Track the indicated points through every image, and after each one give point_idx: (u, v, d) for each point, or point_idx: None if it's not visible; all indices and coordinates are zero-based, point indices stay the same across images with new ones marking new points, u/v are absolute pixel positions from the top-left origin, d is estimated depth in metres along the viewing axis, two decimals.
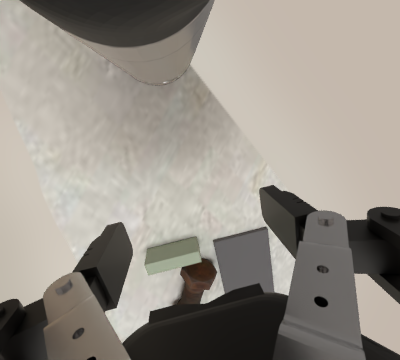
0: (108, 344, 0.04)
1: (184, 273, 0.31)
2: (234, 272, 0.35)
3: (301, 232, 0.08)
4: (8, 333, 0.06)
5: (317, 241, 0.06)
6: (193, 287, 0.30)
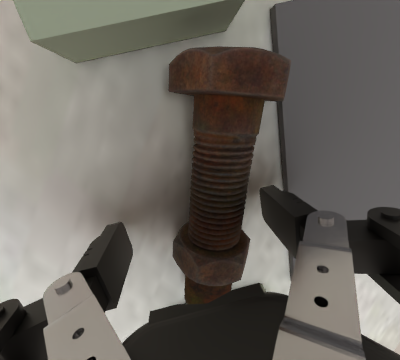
0: (108, 344, 0.04)
1: (181, 59, 0.08)
2: (322, 137, 0.13)
3: (301, 232, 0.08)
4: (8, 333, 0.06)
5: (317, 241, 0.06)
6: (222, 83, 0.07)
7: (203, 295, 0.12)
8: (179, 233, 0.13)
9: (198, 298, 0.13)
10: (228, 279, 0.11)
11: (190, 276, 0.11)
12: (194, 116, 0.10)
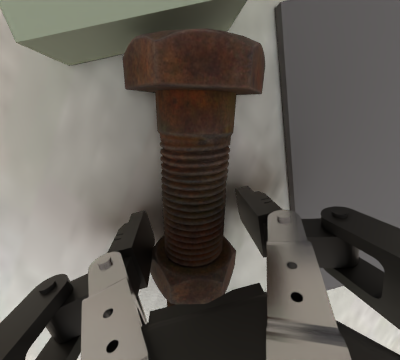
0: (130, 331, 0.04)
1: (130, 50, 0.07)
2: (330, 141, 0.12)
3: (264, 230, 0.09)
4: (62, 302, 0.07)
5: (270, 237, 0.07)
6: (170, 74, 0.06)
7: None
8: (156, 246, 0.12)
9: None
10: (208, 298, 0.10)
11: (165, 295, 0.10)
12: (157, 116, 0.09)
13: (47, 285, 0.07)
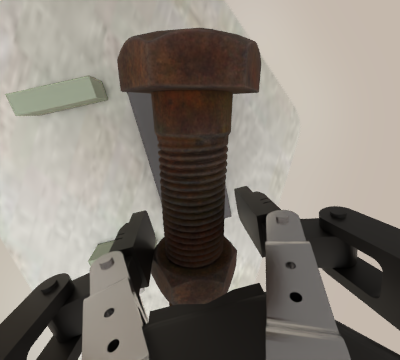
0: (131, 331, 0.04)
1: (125, 52, 0.07)
2: None
3: (263, 230, 0.09)
4: (64, 301, 0.07)
5: (268, 238, 0.07)
6: (164, 75, 0.06)
7: None
8: (156, 247, 0.12)
9: None
10: (209, 299, 0.10)
11: (167, 297, 0.10)
12: (153, 117, 0.09)
13: (49, 284, 0.07)
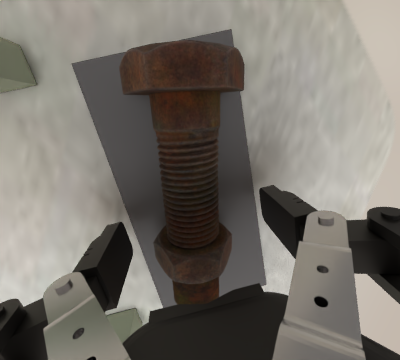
0: (108, 344, 0.04)
1: (125, 61, 0.08)
2: (153, 176, 0.14)
3: (301, 232, 0.08)
4: (8, 333, 0.06)
5: (317, 241, 0.06)
6: (159, 80, 0.07)
7: (188, 293, 0.12)
8: (159, 233, 0.13)
9: (184, 297, 0.13)
10: (207, 276, 0.11)
11: (169, 275, 0.11)
12: (152, 116, 0.10)
13: None
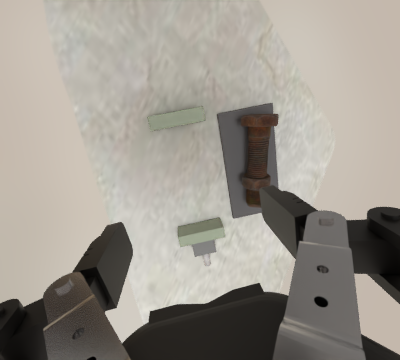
0: (108, 344, 0.04)
1: (246, 117, 0.30)
2: (238, 155, 0.35)
3: (301, 232, 0.08)
4: (8, 333, 0.06)
5: (317, 241, 0.06)
6: (259, 124, 0.28)
7: (255, 197, 0.33)
8: (243, 175, 0.34)
9: (253, 199, 0.34)
10: None
11: (250, 188, 0.32)
12: (249, 132, 0.31)
13: None
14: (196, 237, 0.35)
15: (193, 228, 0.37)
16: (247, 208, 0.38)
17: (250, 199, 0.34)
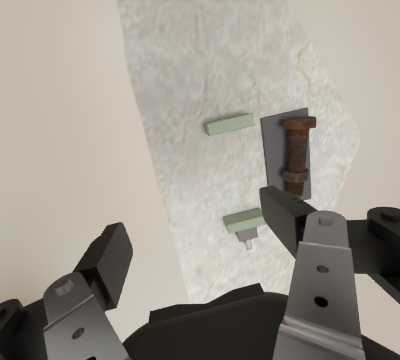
0: (108, 344, 0.04)
1: (288, 121, 0.35)
2: (277, 153, 0.40)
3: (301, 232, 0.08)
4: (8, 333, 0.06)
5: (317, 241, 0.06)
6: (301, 127, 0.34)
7: (295, 188, 0.39)
8: (284, 170, 0.39)
9: (293, 190, 0.39)
10: (304, 179, 0.38)
11: (292, 180, 0.38)
12: (290, 134, 0.36)
13: None
14: (242, 225, 0.41)
15: (238, 217, 0.42)
16: None
17: (291, 190, 0.40)
